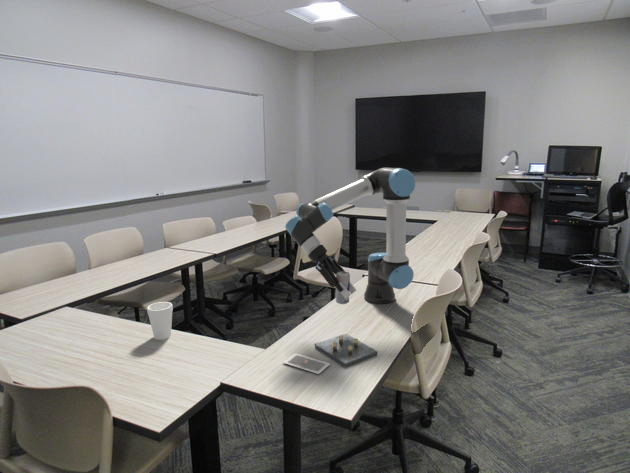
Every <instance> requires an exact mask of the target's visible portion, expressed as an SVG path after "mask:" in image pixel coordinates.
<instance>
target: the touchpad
mask: <svg viewBox="0 0 630 473" xmlns="http://www.w3.org/2000/svg"><path fill="white" fill-rule="evenodd" d="M281 363H283V364H286V365H289V366H292V367H295V368H298V369H302V370H305V371H308V372H311V373H314V374H317V375H319V374H321V373H322V372H323V371H325V369H327V368H328V366H330V365H331V363H329V362H326V361H323V360H319V359H316V358H313V357H310V356H306V355H303V354H299V353H295V352H294V353H293V354H292V355H290V356H289V357H287V358H286V359H285V360H283V361H282V362H281Z"/></svg>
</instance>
